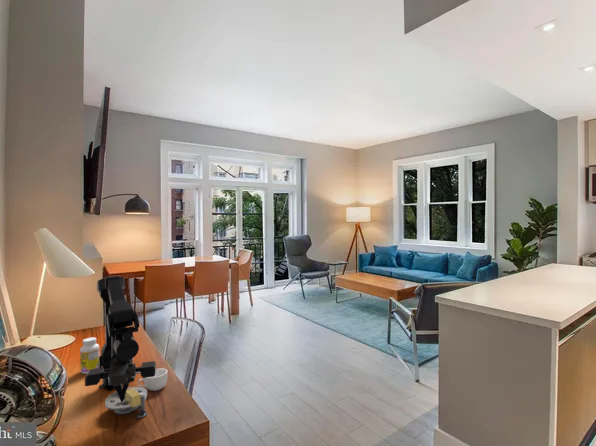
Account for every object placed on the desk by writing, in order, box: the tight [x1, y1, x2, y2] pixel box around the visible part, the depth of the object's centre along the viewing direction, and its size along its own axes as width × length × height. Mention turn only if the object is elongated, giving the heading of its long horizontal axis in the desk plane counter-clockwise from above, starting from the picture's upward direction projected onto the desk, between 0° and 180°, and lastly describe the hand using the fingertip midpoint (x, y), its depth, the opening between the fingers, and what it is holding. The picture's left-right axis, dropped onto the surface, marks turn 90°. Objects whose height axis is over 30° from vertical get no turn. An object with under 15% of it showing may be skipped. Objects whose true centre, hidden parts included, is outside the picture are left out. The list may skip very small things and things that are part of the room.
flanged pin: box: [136, 395, 148, 419], centre depth 104 cm, size 3×3×6 cm
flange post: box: [113, 405, 139, 416], centre depth 108 cm, size 7×7×2 cm
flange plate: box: [104, 386, 148, 411], centre depth 107 cm, size 14×12×4 cm
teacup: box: [136, 367, 169, 392], centre depth 121 cm, size 10×8×5 cm
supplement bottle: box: [79, 336, 101, 375], centre depth 137 cm, size 7×7×13 cm
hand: (122, 401), depth 103 cm, fingers closed
